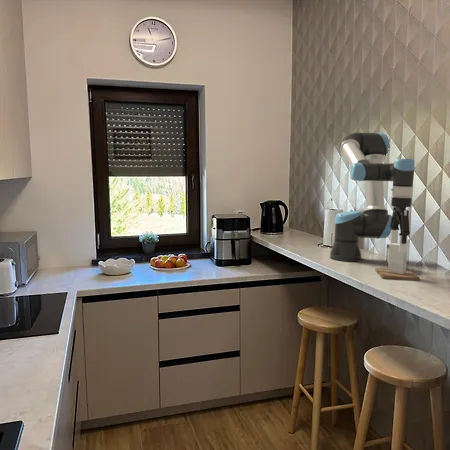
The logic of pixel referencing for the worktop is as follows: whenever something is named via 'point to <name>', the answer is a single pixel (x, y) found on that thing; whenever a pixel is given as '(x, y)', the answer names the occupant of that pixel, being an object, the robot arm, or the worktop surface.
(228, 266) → the worktop surface
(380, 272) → the board
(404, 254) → the skincare box
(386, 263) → the food container
